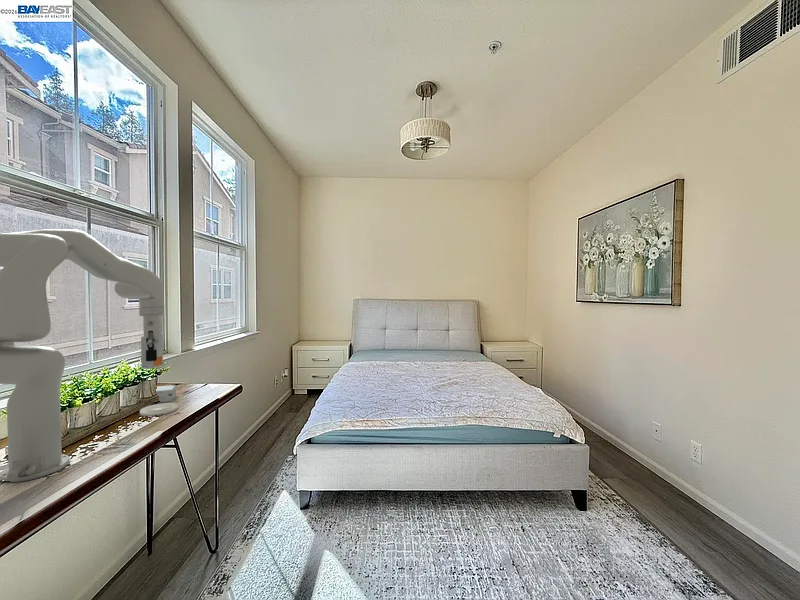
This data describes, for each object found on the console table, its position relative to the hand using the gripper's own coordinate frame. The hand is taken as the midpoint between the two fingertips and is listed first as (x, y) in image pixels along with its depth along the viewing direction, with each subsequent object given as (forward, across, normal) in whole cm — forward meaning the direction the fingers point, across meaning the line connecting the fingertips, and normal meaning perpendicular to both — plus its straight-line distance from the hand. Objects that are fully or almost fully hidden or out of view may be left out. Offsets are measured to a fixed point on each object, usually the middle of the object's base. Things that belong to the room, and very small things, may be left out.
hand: (152, 358), depth 134 cm
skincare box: (+3, 0, 0) cm, 3 cm away
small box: (+20, +16, -2) cm, 26 cm away
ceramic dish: (+20, 0, -2) cm, 20 cm away
